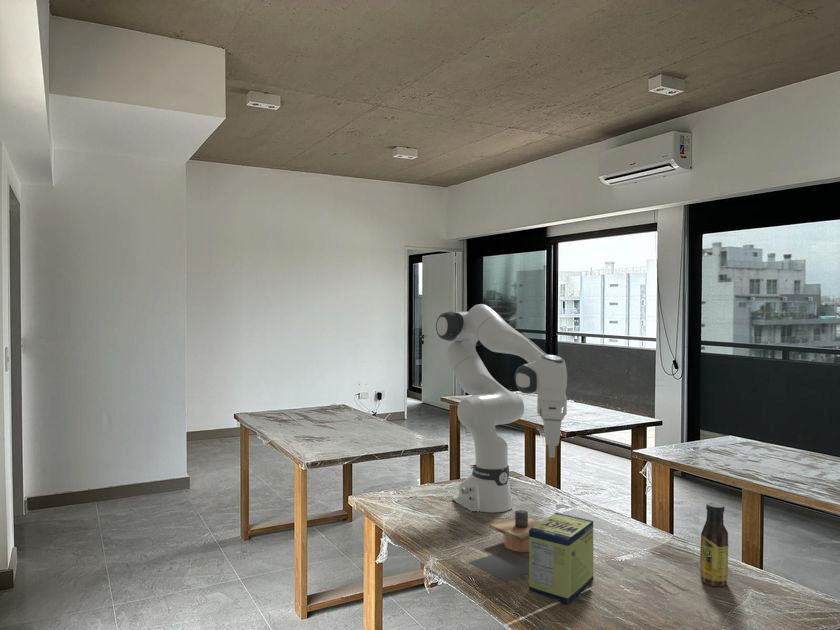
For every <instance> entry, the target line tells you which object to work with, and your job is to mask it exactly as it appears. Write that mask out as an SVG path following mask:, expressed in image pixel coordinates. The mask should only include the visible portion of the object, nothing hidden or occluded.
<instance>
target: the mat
mask: <svg viewBox="0 0 840 630" xmlns="http://www.w3.org/2000/svg"><path fill="white" fill-rule="evenodd" d="M468 563H469V564H470V565H472V566H475V567H477V568H478V569H480V570H482V571H484V572H486V573H487V574H490V575H492V576H494V577H495V578H497V579H499V580H501V581H504V582H508V581H510V580H512V579H516V578H517V577H521V576H523V575H526V574H529V558H525V557H523V556H521V555H519V554H516V553H514V551H511V550H509V549H504V550H500V551H499V552H496V553H492V554H490V555H487V556H484V557H481V558H478V559H475V560H471V561H469V562H468Z"/></svg>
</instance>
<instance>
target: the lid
mask: <svg viewBox="0 0 840 630" xmlns="http://www.w3.org/2000/svg"><path fill="white" fill-rule="evenodd" d="M528 516H529V512H528V511H527V510H525V509H517V510H515V512H514V516H513V517H509V518H506V519H503V520H499V521H495V522H493V523H489V525H488V526H489V527H488V528H489V529H491V530H494V531H496V532H499V533H500V534H502V535H503V534H505V535H507V536H510V537H512V538H514V539H517V540H519V541H521V542H522V541H525V540H528V539H529V530H530V529H531V528H532V527H534V526H536V525H537V524H539V523H541V522H542V521H538V520H536V519H533V518H530V517H528Z"/></svg>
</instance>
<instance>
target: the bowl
mask: <svg viewBox="0 0 840 630" xmlns="http://www.w3.org/2000/svg"><path fill="white" fill-rule="evenodd" d="M502 535H503V539H502V540H503V545H504V547H505V548H506V549H507V550H509V551H511V552H520V553H526V552H527V553H529V539H528V540H525V541H522V542H521V541H519V540H517V539H514V538H512V537H510V536H507V535H505V534H503V533H502Z"/></svg>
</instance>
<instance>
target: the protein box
mask: <svg viewBox="0 0 840 630" xmlns="http://www.w3.org/2000/svg"><path fill="white" fill-rule="evenodd" d="M540 522H541V523H539V524H537V525H536V526H534V527H532V528H531V529H530V530H529V552H528V556H529V558H528V560H529V573H528V577H529V579H528V580H529V583H528V585H529V588H528V590H529V591H530V592H533V593H537V594H538V595H539V594H540V595H543V596H546V597H548V598H549V597H550V598H551V599H554V600H555V599H556V600H557V602H559V603H563V604H566V605H569V604H570V603H572V602H573V600H575V599H576V598H577V597H578V596H579V595H580V594H581V593H582V592H584V591H585V590H586V587H587V586H588V585H589V584H591V582H592V581H593V580H594V520H590V519H585V518H582V517H577V516H572V515H569V514H568V515H567V514H564V513H560V512H559V513H558V512H555V513H553V514H552V515H550V516H549V517H547V518H546V519H545V518H544V520H542V521H540Z"/></svg>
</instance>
